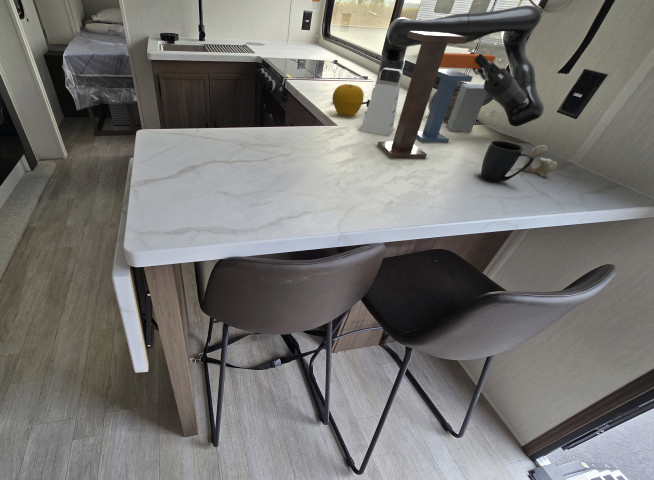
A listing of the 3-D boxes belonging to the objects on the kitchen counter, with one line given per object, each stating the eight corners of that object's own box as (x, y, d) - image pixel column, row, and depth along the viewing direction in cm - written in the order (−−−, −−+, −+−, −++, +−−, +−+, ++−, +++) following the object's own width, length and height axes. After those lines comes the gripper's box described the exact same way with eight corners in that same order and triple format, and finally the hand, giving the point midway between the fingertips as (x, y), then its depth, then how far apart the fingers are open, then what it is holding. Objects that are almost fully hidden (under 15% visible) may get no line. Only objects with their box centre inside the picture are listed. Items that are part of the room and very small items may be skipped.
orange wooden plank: (483, 66, 117) (488, 54, 114) (490, 69, 114) (495, 56, 111) (417, 64, 114) (420, 52, 111) (422, 67, 111) (426, 53, 108)
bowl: (467, 122, 148) (477, 96, 142) (440, 124, 143) (450, 97, 137) (443, 113, 158) (452, 88, 151) (417, 115, 153) (425, 89, 146)
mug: (508, 191, 95) (527, 157, 89) (469, 175, 103) (484, 142, 96) (523, 186, 99) (543, 152, 92) (485, 171, 106) (500, 139, 100)
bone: (562, 170, 105) (570, 143, 98) (547, 184, 105) (554, 158, 97) (533, 162, 111) (538, 136, 103) (519, 176, 111) (523, 150, 103)
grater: (366, 124, 139) (380, 65, 125) (392, 128, 135) (409, 69, 122) (360, 130, 131) (373, 69, 118) (387, 135, 128) (404, 73, 115)
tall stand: (409, 146, 121) (446, 32, 99) (425, 158, 112) (469, 37, 90) (377, 145, 119) (407, 30, 98) (390, 158, 110) (427, 35, 89)
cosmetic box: (465, 128, 141) (483, 83, 131) (471, 133, 136) (491, 87, 125) (444, 126, 142) (461, 82, 131) (450, 131, 136) (467, 86, 126)
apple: (342, 120, 141) (348, 89, 133) (323, 112, 149) (328, 82, 141) (366, 118, 146) (373, 87, 138) (346, 110, 154) (352, 80, 146)
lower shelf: (433, 133, 134) (456, 69, 120) (449, 143, 125) (475, 76, 111) (409, 132, 133) (429, 68, 119) (423, 143, 124) (447, 75, 110)
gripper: (498, 72, 123) (470, 41, 115) (525, 80, 112) (497, 46, 105) (480, 92, 127) (452, 63, 119) (504, 102, 116) (476, 71, 109)
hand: (473, 56), depth 112 cm, fingers closed on orange wooden plank, 4 cm apart
